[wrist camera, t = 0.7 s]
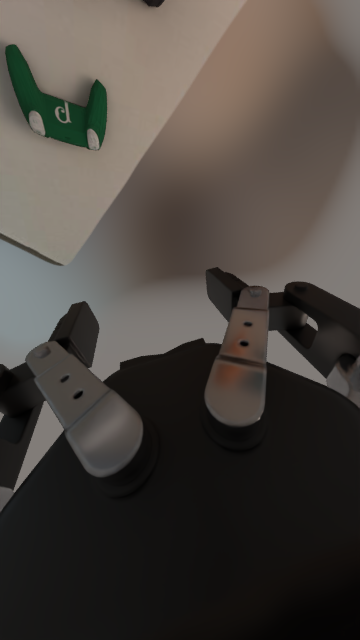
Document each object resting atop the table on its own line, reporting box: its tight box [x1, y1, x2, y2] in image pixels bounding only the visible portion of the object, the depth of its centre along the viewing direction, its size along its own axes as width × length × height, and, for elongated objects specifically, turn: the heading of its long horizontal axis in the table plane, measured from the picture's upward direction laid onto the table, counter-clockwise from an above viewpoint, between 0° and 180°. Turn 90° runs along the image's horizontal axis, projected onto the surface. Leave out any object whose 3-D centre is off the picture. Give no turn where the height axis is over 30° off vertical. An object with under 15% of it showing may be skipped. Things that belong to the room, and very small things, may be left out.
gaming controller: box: [5, 44, 107, 150], centre depth 20 cm, size 9×4×6 cm
